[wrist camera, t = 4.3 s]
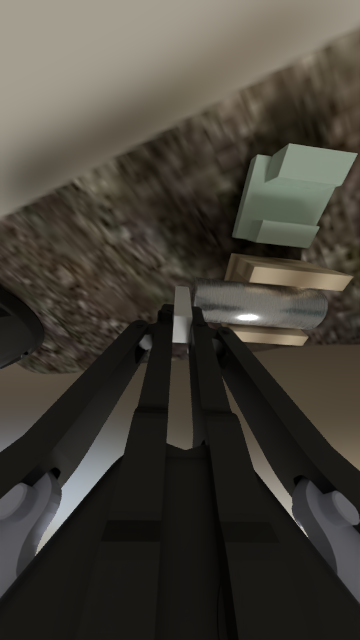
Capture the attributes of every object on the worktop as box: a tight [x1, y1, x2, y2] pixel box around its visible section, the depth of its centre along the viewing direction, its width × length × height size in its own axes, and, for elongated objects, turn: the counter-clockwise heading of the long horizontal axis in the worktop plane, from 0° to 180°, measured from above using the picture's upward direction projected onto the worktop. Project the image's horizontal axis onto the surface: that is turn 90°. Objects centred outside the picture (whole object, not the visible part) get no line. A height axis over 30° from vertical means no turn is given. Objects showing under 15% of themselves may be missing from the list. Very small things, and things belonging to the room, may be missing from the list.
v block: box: [232, 143, 357, 248], centre depth 16 cm, size 9×7×4 cm
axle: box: [191, 277, 328, 329], centre depth 18 cm, size 14×5×5 cm, turn 85°
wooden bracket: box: [221, 253, 353, 346], centre depth 20 cm, size 10×9×8 cm
